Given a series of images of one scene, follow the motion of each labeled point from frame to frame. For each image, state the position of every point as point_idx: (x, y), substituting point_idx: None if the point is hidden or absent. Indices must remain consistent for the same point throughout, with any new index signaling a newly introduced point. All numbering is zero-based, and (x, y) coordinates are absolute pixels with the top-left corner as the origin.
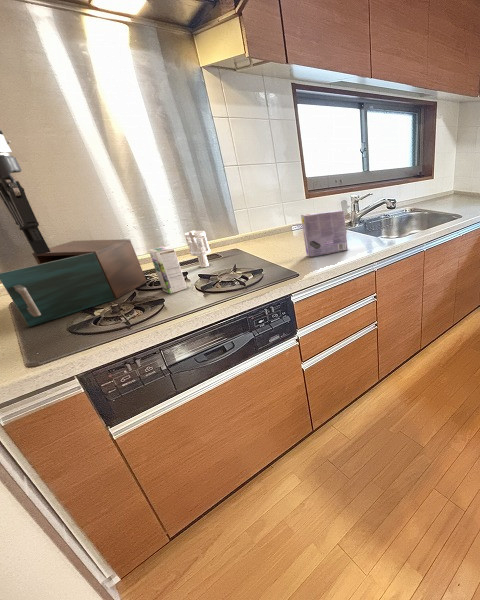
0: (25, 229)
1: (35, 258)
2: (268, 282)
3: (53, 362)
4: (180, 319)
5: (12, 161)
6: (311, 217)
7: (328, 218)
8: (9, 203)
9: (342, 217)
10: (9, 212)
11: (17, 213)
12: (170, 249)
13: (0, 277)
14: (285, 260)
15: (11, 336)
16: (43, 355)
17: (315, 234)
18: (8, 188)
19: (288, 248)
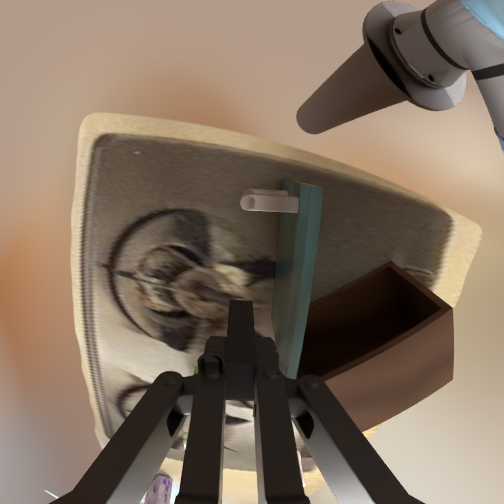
0: (225, 368)
1: (442, 302)
2: (114, 420)
3: (86, 160)
4: (77, 313)
5: None
6: None
7: None
8: (265, 487)
9: None
10: (352, 423)
11: (188, 433)
12: (185, 446)
13: (307, 188)
14: (180, 468)
15: (268, 147)
16: (121, 156)
17: (152, 500)
18: None
19: (227, 487)
